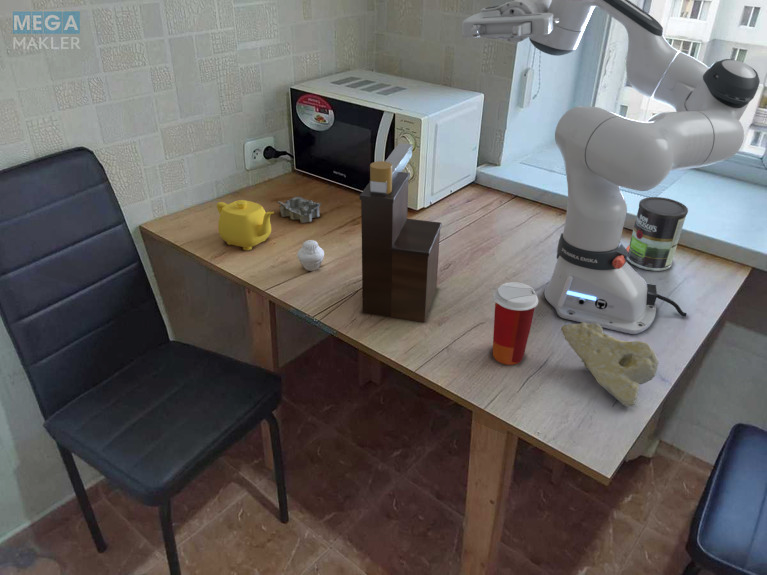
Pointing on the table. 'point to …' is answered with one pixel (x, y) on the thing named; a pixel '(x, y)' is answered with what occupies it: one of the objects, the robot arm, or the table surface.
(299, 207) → the egg carton
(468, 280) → the table surface
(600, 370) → the cheese
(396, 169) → the crank handle
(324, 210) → the table surface
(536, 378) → the table surface
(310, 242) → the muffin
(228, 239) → the teapot
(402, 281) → the step stand
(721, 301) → the table surface
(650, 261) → the coffee can
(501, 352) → the paper cup
